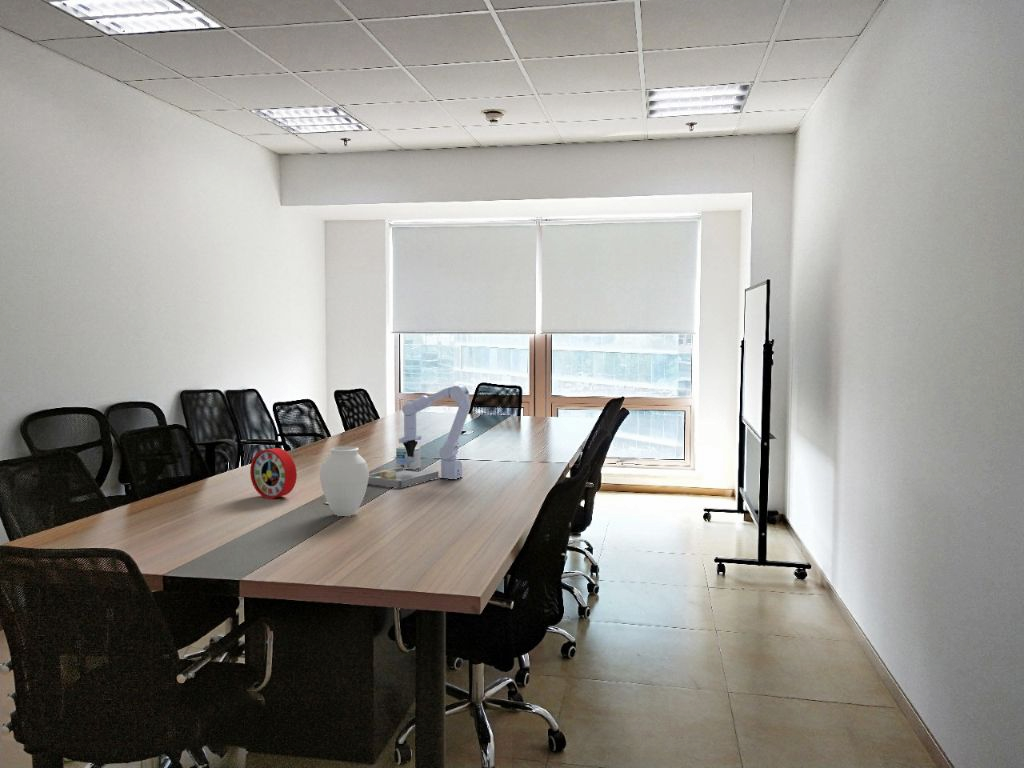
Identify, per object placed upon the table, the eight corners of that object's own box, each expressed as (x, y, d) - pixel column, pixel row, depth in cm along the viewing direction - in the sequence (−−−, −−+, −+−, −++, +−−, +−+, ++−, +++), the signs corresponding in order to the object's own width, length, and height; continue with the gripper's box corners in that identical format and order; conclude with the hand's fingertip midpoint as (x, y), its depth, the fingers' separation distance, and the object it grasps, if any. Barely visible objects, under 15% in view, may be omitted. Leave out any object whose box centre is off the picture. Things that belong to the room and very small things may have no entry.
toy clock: (250, 496, 319) (249, 448, 318) (261, 493, 324) (260, 446, 323) (286, 501, 310) (286, 451, 308) (297, 498, 315) (296, 449, 313)
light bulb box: (395, 469, 384) (395, 447, 383) (401, 466, 390) (401, 445, 390) (415, 470, 381) (415, 448, 380) (420, 468, 387) (420, 446, 387)
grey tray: (438, 478, 359) (438, 471, 359) (400, 488, 335) (400, 480, 335) (401, 474, 370) (401, 466, 370) (361, 483, 346) (361, 475, 346)
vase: (321, 521, 276) (320, 452, 275) (319, 510, 293) (319, 445, 292) (371, 518, 281) (370, 450, 279) (367, 507, 298) (366, 443, 296)
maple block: (396, 479, 346) (395, 470, 345) (388, 481, 341) (388, 472, 341) (387, 478, 348) (387, 469, 348) (380, 480, 344) (380, 471, 344)
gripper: (413, 425, 372) (413, 453, 372) (393, 428, 359) (393, 457, 360) (424, 426, 368) (424, 455, 369) (405, 430, 356) (405, 459, 356)
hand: (410, 456), depth 364 cm, fingers closed
